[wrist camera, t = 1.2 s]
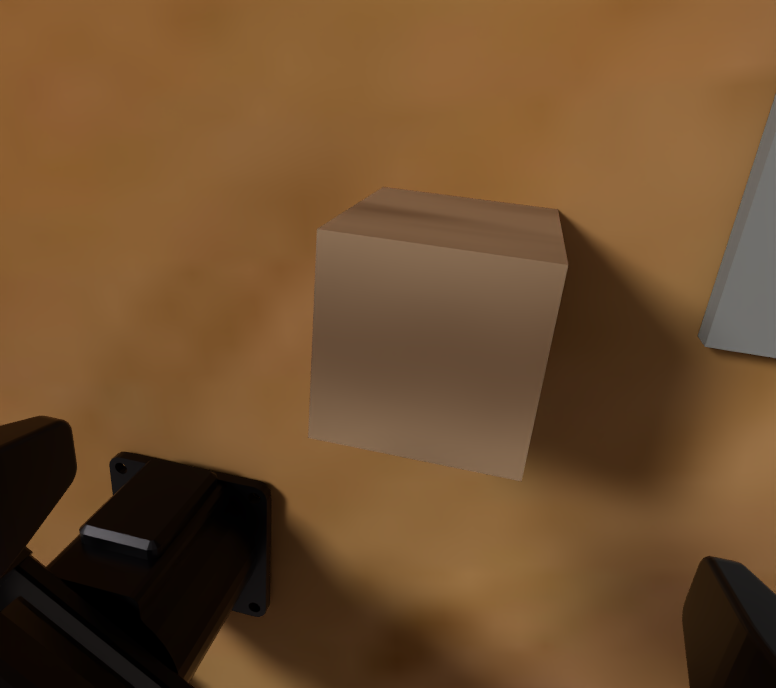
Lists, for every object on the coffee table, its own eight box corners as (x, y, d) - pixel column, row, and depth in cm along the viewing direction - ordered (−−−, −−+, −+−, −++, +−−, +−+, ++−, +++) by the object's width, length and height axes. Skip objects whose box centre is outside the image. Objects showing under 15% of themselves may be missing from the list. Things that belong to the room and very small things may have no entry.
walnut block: (525, 369, 19) (521, 481, 13) (370, 342, 20) (308, 437, 14) (557, 209, 17) (567, 264, 11) (383, 186, 18) (317, 228, 12)
